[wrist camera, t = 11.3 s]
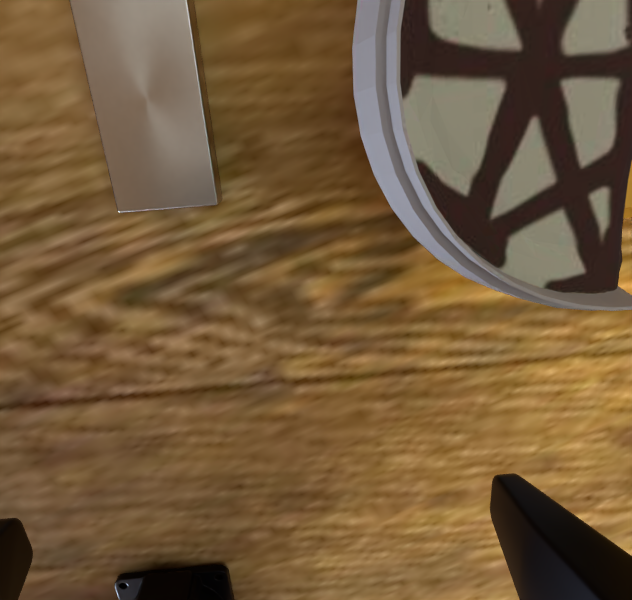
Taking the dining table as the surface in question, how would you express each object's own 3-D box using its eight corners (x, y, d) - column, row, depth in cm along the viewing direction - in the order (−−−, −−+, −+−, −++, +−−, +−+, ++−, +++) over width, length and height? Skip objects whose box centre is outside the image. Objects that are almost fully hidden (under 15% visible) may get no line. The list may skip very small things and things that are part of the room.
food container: (307, -87, 16) (325, -381, 7) (483, -114, 16) (751, -448, 7) (346, 253, 20) (389, 364, 11) (483, 234, 20) (643, 329, 11)
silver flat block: (222, 200, 19) (218, 205, 18) (127, 208, 19) (117, 213, 18) (190, -25, 16) (182, -36, 15) (78, -17, 16) (62, -27, 15)
